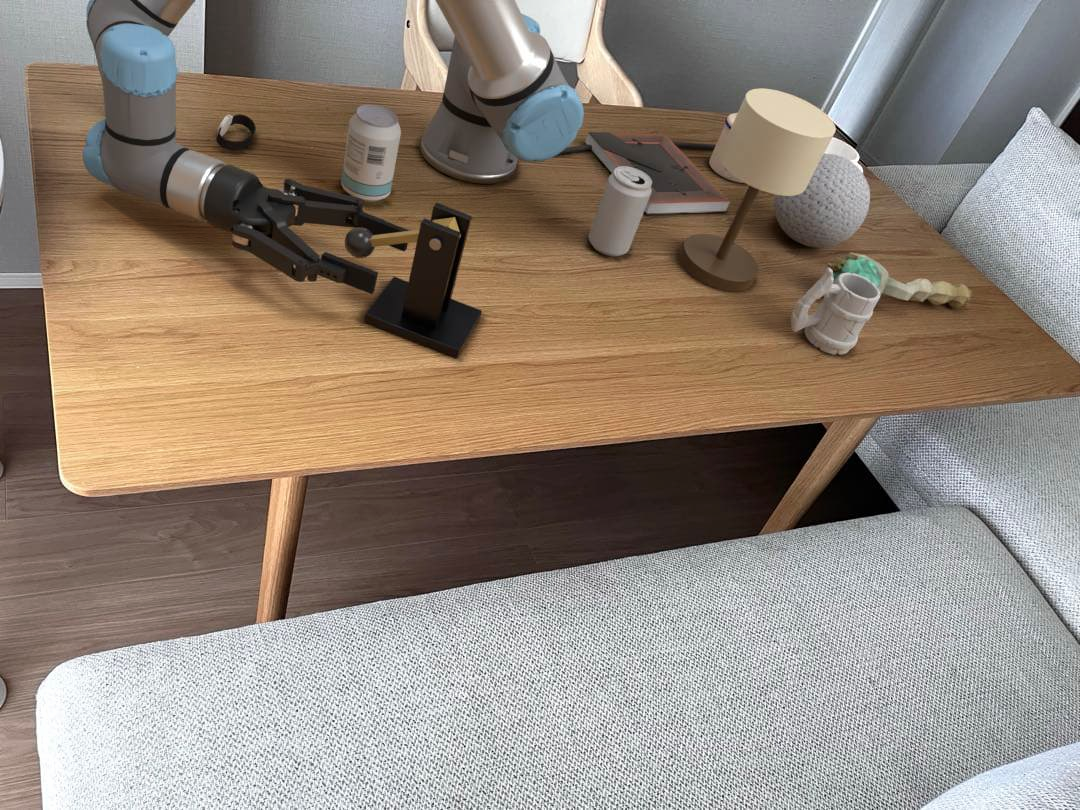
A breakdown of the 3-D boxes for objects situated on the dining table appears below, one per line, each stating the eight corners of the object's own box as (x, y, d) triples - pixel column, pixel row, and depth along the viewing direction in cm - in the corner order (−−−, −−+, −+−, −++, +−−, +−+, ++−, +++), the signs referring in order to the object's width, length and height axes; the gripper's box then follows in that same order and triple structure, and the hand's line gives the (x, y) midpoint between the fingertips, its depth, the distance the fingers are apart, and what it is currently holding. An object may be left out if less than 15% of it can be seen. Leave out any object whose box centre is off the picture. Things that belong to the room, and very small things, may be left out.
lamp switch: (346, 265, 108) (334, 237, 106) (358, 250, 111) (347, 223, 109) (454, 252, 103) (444, 223, 101) (464, 237, 106) (455, 209, 104)
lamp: (730, 242, 147) (803, 92, 130) (770, 293, 139) (853, 140, 122) (662, 241, 142) (729, 84, 125) (700, 294, 134) (776, 133, 117)
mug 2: (860, 358, 133) (903, 293, 125) (790, 353, 129) (830, 285, 121) (837, 324, 138) (877, 259, 130) (770, 318, 134) (807, 251, 126)
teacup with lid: (720, 182, 162) (747, 123, 154) (699, 155, 168) (724, 96, 160) (775, 186, 167) (804, 129, 159) (752, 160, 173) (779, 103, 165)
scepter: (950, 264, 156) (820, 246, 141) (992, 274, 148) (860, 256, 134) (935, 313, 158) (806, 301, 144) (976, 325, 151) (844, 313, 137)
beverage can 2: (615, 264, 133) (643, 193, 125) (579, 243, 135) (604, 172, 127) (634, 249, 138) (662, 180, 130) (599, 228, 139) (624, 159, 131)
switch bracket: (363, 322, 109) (382, 217, 99) (392, 284, 116) (411, 182, 106) (457, 358, 109) (484, 257, 99) (480, 318, 116) (508, 220, 106)
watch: (231, 125, 133) (232, 101, 130) (262, 135, 133) (264, 112, 131) (207, 147, 127) (207, 123, 125) (239, 158, 127) (240, 134, 125)
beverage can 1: (396, 190, 132) (410, 114, 124) (378, 212, 127) (391, 134, 119) (352, 173, 132) (363, 96, 124) (332, 194, 127) (342, 115, 119)
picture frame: (584, 144, 159) (645, 215, 146) (588, 131, 157) (651, 202, 145) (660, 145, 167) (724, 213, 154) (665, 133, 165) (730, 200, 153)
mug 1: (778, 190, 166) (803, 140, 159) (800, 180, 172) (826, 131, 165) (827, 222, 162) (855, 172, 155) (849, 211, 168) (877, 161, 161)
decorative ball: (859, 259, 155) (905, 182, 145) (802, 271, 147) (847, 190, 137) (799, 209, 163) (839, 133, 153) (742, 218, 154) (780, 138, 145)
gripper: (260, 181, 119) (419, 243, 119) (164, 264, 103) (349, 337, 102) (264, 129, 115) (430, 194, 114) (164, 208, 98) (358, 283, 97)
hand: (391, 261), depth 108 cm, fingers open, 9 cm apart
